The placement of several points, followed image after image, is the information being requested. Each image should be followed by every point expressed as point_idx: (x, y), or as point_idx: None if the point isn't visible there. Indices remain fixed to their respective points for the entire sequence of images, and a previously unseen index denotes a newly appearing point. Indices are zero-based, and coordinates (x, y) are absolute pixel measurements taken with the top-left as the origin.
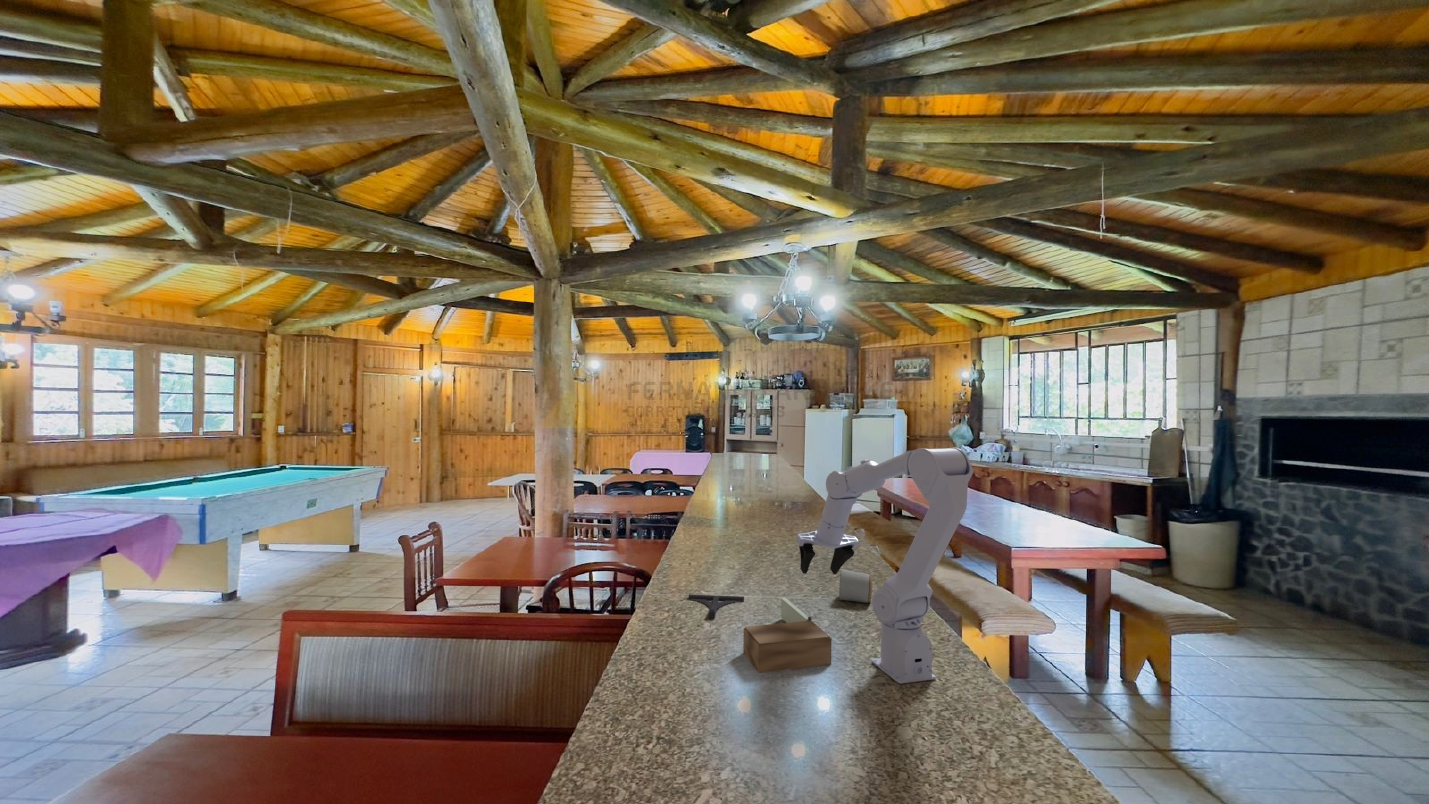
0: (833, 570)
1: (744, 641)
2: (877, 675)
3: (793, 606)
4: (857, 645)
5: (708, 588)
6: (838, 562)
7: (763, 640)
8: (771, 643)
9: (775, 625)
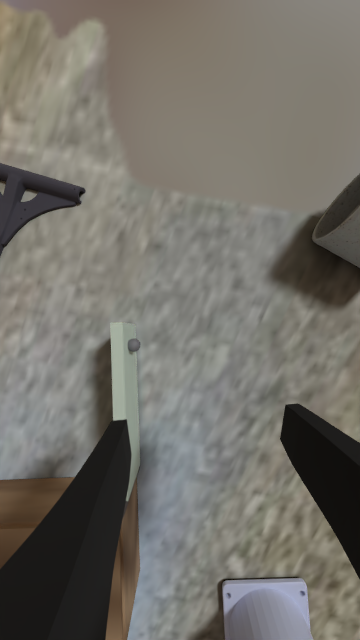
0: (290, 441)
1: None
2: (206, 634)
3: (118, 397)
4: (232, 494)
5: (25, 100)
6: (340, 527)
7: None
8: None
9: (10, 541)
